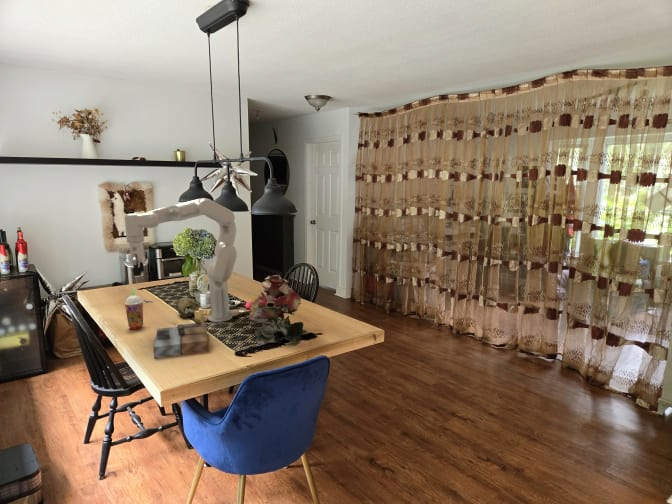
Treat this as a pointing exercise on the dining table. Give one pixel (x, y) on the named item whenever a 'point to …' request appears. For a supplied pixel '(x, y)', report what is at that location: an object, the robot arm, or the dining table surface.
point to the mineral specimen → (187, 307)
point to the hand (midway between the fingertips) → (139, 273)
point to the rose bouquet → (276, 312)
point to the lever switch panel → (180, 341)
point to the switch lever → (197, 321)
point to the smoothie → (134, 311)
